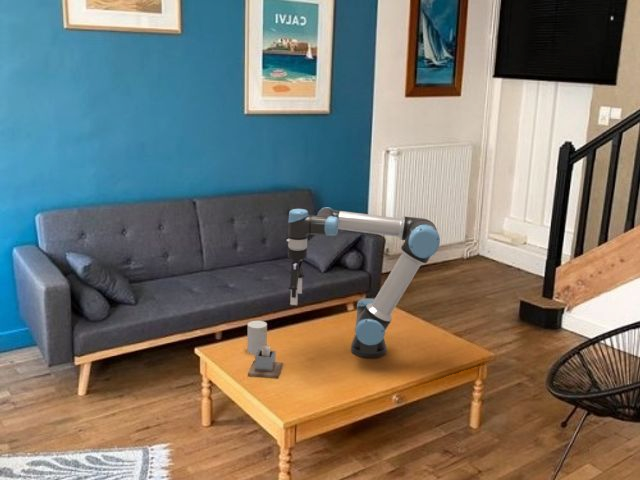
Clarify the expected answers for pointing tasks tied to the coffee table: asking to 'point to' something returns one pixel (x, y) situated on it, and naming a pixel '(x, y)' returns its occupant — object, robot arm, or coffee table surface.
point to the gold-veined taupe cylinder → (256, 336)
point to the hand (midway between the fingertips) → (296, 298)
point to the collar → (265, 362)
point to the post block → (266, 374)
